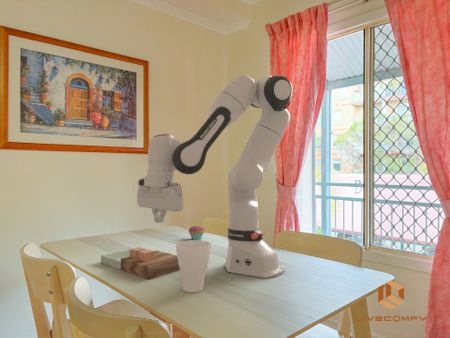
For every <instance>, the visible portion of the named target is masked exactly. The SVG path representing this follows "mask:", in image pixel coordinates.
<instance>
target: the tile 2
mask: <svg viewBox="0 0 450 338" xmlns="http://www.w3.org/2000/svg"><path fill="white" fill-rule="evenodd" d="M145 249H146V250H142V251H138V260H140V261H144V262H147V261H151V260H154V256H155V251H156V250H152V249H147V248H145Z"/></svg>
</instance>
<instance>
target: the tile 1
mask: <svg viewBox="0 0 450 338" xmlns="http://www.w3.org/2000/svg"><path fill="white" fill-rule="evenodd" d="M129 249H130V258H133V259H138V251H142V250H146V249H147V248H143V247H140V246H139V247H133V248H129Z"/></svg>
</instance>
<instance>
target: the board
mask: <svg viewBox="0 0 450 338" xmlns="http://www.w3.org/2000/svg"><path fill="white" fill-rule="evenodd" d="M154 251H155V256H154V260H151V261H147V262H144V261H140V260H138V259H133V258H130V257H126V258H121V270H120V271H122V272H126V273H127V274H132V275H134V276H136V277H137V276H138V277H141V278H144V279H146V280H152V279H156V278H158V277H161V276H164V275H168V274H171V273H174V272H175V273H176V272H178V271H180V268H179V264H178V258H177V254H176V255H175V254H173V253H167V252H164V251H161V250H160V251H159V250H154Z"/></svg>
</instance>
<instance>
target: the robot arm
mask: <svg viewBox="0 0 450 338" xmlns="http://www.w3.org/2000/svg"><path fill="white" fill-rule="evenodd" d="M292 94H293V85H292V83H291V80H289V78H287V77H286V76H283V75H277V74H274V75H270V76H265V77H263V78H260V79H257V80H254V79H253V78H252V77H251V76H249V75H246V74H240V75H237V76H236V77H234V78H233V79H232V80H231V81H230V82H229V83H227V85H226V86H225V87H224V88H223V89H222V90H221V91H220V92H219V93H218V95H217V97H216V98H215V99H214V101H213V103H212V105H211V106H210V109H209V115H208V117H207V119H206V120H205V122H204V123H203V125H202V126H201V127H200V128H199V129H198V130H197V132H196V133H195V134H194V135H193V137H191V138H190V139H189V140H186V141H184V142H183V141H180V140H178V138H176V137H174V136H173V134H168V133H167V134H166V133H165V134H156V135H154V136H153V137H151V139H149V144H148V148H147V149H148V150H147V162H148V163H147V164H148V169H147V171H146V172H147V173H146V176H144V177H142V178H140V179H138V180H137V186H138V188H137V194H136V195H137V196H136V198H137V199H136V202H137V206H138V207H140V208H145V209H146V208H147V209H151V213H152V215H153V222H154V223H157V224H158V223H159V224H163V223H165V222H164V221H165V217H166V214H167V212H168V211H170V212H181V211H183V210H184V195H183V187H182V186H181V184H180V183H179V182H174V172H175V171H178V172H180V173H181V174H185V175H193V174H196V173H198V172H199V171H200V170H201V169H202V168H203V166H205V165H204V164H205V161H206V158H207V153H208V151H209V149H210V148H211V147H212V145H213V144H214V143H215V141H216V140H217V139H218V138H219V137H220V136H221V134H222V132H223V131H224V130H226V129H227V128H229V127H231V126H232V125H234V124H235V123H236V122H237V121H238V120H239V119H240V118H241V117H242V115H244V113H245V112H246V111H247V109H248V108H249V107H250V106H251V107H253V108H257V109H261V115H260V117H259V120H258V121H257V123H256V125H255V126H254V129H253V130H252V131H251V133H250V135H249V137H248V139H247V141H246V143H245V146H244V148H243V150H242V152H241V155H240V157H239V158H238V160H237V162H236V163H235V164H234V165H233V166H231V168H230V169H229V171H228V174H227V186H228V187H227V188H228V207H229V208H228V211H229V212H228V213H229V215H228V217H229V220H228V221H229V222H228V224H229V225H228V228H227V239H228V244H227V245H228V247H227V253H226V258H225V262H224V265H223V266H224V268H225V269H226V270H225V271H226V272H227V273H232V274H238V275H245V276H251V277H257V278H263V279H270V278H273V277H277V276H280V275H282V274H283V273H284V272H285V271H286V268H285V266H284V265H280V264H279V256H278V253H277V252H276V251H275V250H274V249H273V248H272V247H271V246H270V245H269V244H268V243H267V242H266V241H265V240H264V238H263V236H265V235H266V234H265V231H261V230H260V228H259V224H260V223H259V221H260V217H259V212H260V211H259V210H260V209H259V202H258V196H257V195H258V194H257V190H258V188H260V187H261V185H262V183H263V180H264V179H265V178H264V177H265V175H266V172H267V171H268V169H269V166H270V162H271V160H272V158H273V156H274V153H276V152H275V151H276V150H277V148H278V147H279V144H280V143H281V140H282V139H283V137H284V135H285V133H286V130H287V128H288V125H289V122H290V118H291V114H290V112H289V111H288V109H287V108H288V107H289V106H290V104H291V99H292Z"/></svg>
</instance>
